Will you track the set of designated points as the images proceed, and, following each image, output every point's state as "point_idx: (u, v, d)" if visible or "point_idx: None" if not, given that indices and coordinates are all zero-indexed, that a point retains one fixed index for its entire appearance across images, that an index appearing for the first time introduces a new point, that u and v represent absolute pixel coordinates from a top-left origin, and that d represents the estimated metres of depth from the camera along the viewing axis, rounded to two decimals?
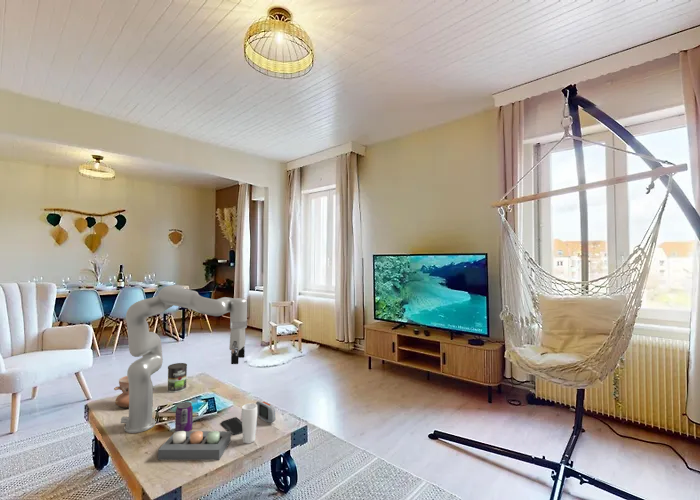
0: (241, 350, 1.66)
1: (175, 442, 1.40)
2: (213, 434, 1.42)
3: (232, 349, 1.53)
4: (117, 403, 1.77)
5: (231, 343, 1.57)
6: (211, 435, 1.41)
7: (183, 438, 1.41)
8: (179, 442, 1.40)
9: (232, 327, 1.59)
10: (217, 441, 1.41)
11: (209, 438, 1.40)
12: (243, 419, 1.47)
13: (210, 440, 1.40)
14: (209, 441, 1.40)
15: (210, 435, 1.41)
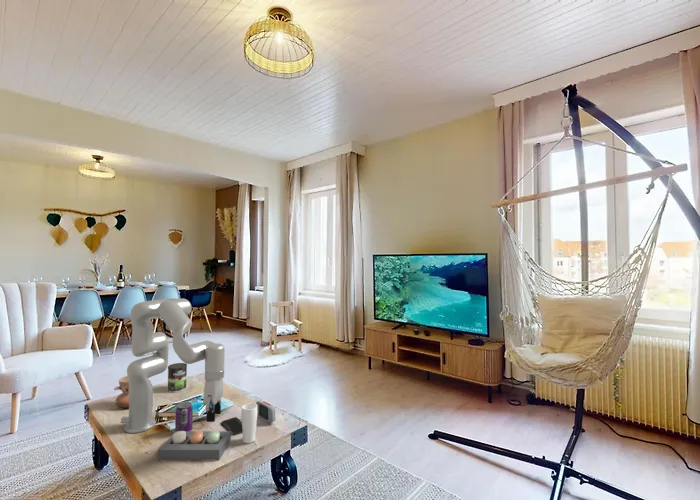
0: (217, 406, 1.45)
1: (175, 442, 1.40)
2: (213, 434, 1.42)
3: (207, 408, 1.35)
4: (117, 403, 1.77)
5: (205, 397, 1.37)
6: (211, 435, 1.41)
7: (183, 438, 1.41)
8: (179, 442, 1.40)
9: (207, 378, 1.39)
10: (217, 441, 1.41)
11: (209, 438, 1.40)
12: (243, 419, 1.47)
13: (210, 440, 1.40)
14: (209, 441, 1.40)
15: (210, 435, 1.41)
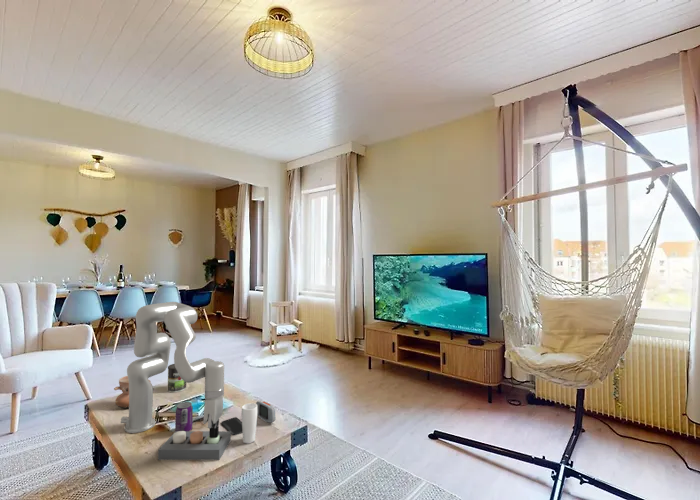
0: None
1: (175, 442, 1.40)
2: None
3: (209, 428, 1.37)
4: (117, 403, 1.77)
5: (205, 416, 1.37)
6: (211, 438, 1.41)
7: (183, 438, 1.41)
8: (179, 442, 1.40)
9: (206, 397, 1.39)
10: None
11: (209, 441, 1.40)
12: (243, 419, 1.47)
13: (210, 442, 1.40)
14: None
15: (210, 438, 1.41)
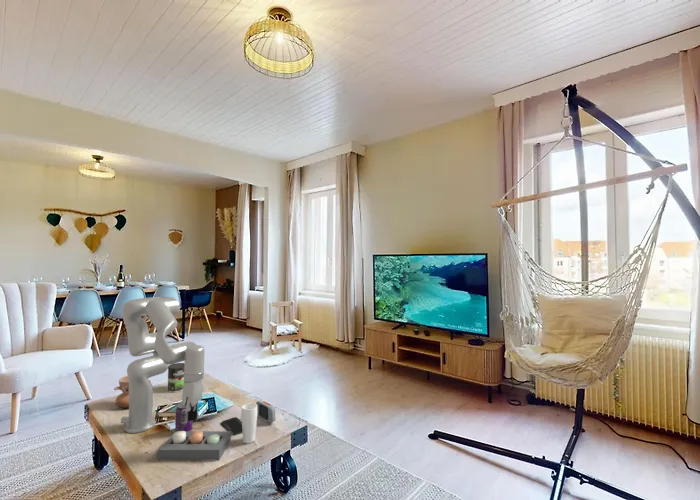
0: None
1: (175, 442, 1.40)
2: (213, 437, 1.42)
3: (188, 411, 1.37)
4: (117, 403, 1.77)
5: (184, 399, 1.37)
6: (211, 438, 1.41)
7: (183, 438, 1.41)
8: (179, 442, 1.40)
9: (186, 380, 1.39)
10: None
11: (209, 441, 1.40)
12: (243, 419, 1.47)
13: (210, 443, 1.40)
14: None
15: (210, 439, 1.41)
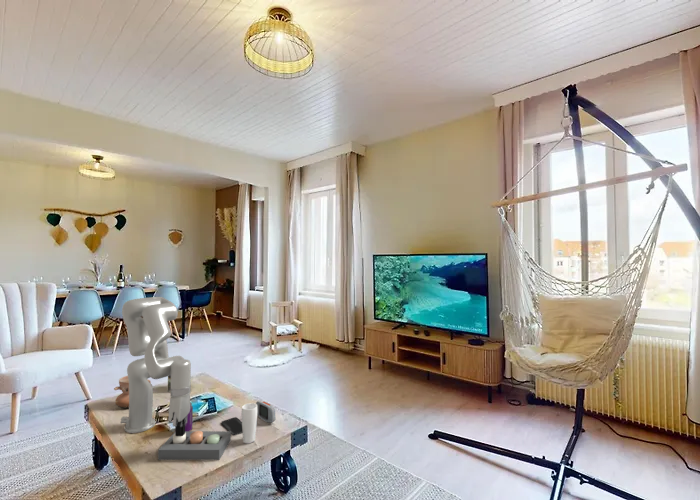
0: None
1: (175, 443, 1.40)
2: (213, 437, 1.42)
3: None
4: (117, 403, 1.77)
5: (170, 414, 1.37)
6: (211, 438, 1.41)
7: (183, 439, 1.41)
8: (179, 443, 1.40)
9: (172, 395, 1.39)
10: None
11: (209, 441, 1.40)
12: (243, 419, 1.47)
13: (210, 443, 1.40)
14: None
15: (210, 439, 1.41)
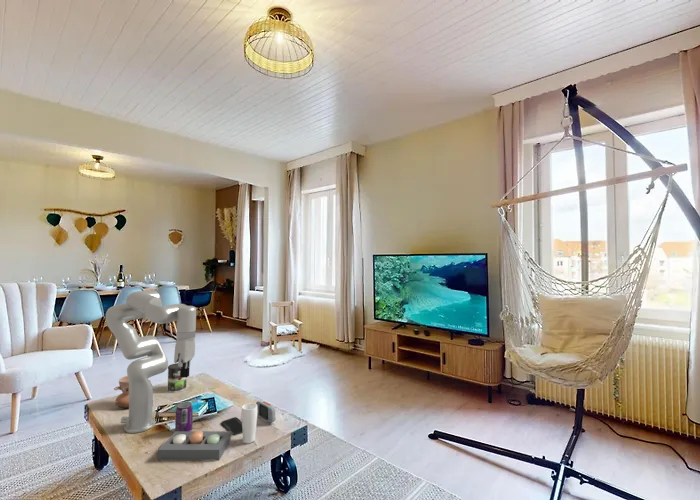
0: None
1: None
2: (213, 437, 1.42)
3: (179, 366, 1.44)
4: (117, 403, 1.77)
5: (176, 355, 1.44)
6: (211, 438, 1.41)
7: (183, 441, 1.41)
8: None
9: (178, 338, 1.46)
10: None
11: (209, 441, 1.40)
12: (243, 419, 1.47)
13: (210, 443, 1.40)
14: None
15: (210, 439, 1.41)
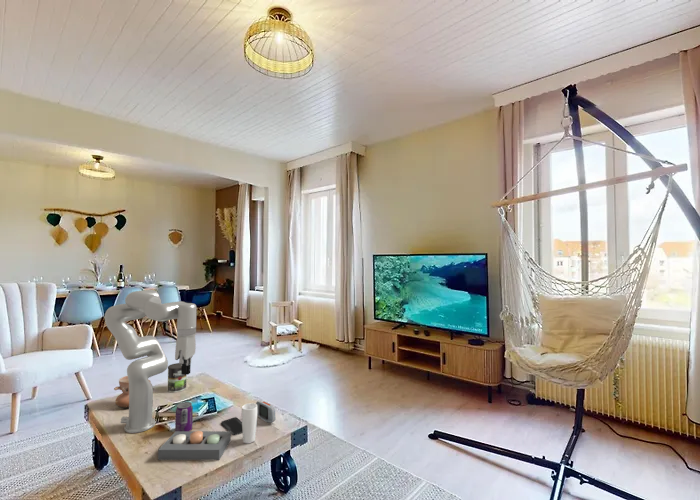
0: None
1: None
2: (213, 437, 1.42)
3: (181, 363, 1.44)
4: (117, 403, 1.77)
5: (177, 352, 1.44)
6: (211, 438, 1.41)
7: (183, 441, 1.41)
8: None
9: (178, 335, 1.46)
10: None
11: (209, 441, 1.40)
12: (243, 419, 1.47)
13: (210, 443, 1.40)
14: None
15: (210, 439, 1.41)
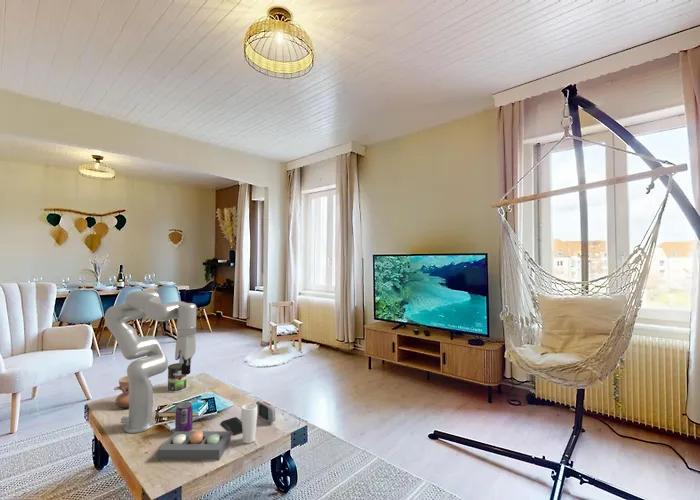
0: None
1: None
2: (213, 437, 1.42)
3: (181, 363, 1.44)
4: (117, 403, 1.77)
5: (177, 352, 1.44)
6: (211, 438, 1.41)
7: (183, 441, 1.41)
8: None
9: (178, 335, 1.46)
10: None
11: (209, 441, 1.40)
12: (243, 419, 1.47)
13: (210, 443, 1.40)
14: None
15: (210, 439, 1.41)
